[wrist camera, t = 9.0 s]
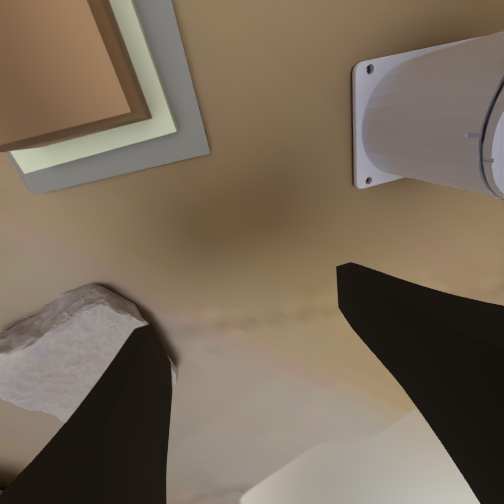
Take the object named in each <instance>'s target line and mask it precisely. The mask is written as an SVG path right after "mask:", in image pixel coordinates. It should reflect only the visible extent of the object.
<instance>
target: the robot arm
mask: <svg viewBox="0 0 504 504" xmlns="http://www.w3.org/2000/svg"><path fill="white" fill-rule="evenodd" d="M367 66H369V67H370V73H369V74H368V73H367V71H366V69H367ZM352 83H353V153H354V186H355V187H356V188H359V189H364V188H367V187H371V186H375V185H379V184H382V183H386V182H390V181H394V180H397V179H401V178H405V177H407V178H411V179H416V180H420V181H424V182H429V183H433V184H437V185H442V186H446V187H450V188H455V189H459V190H463V191H467V192H472V193H476V194H480V195H485V196H489V197H493V198H498V199H502V200H504V30H503V31H500V32H497V33H494V34H490V35H487V36H481V37H476V38H471V39H466V40H462V41H457V42H452V43H447V44H443V45H438V46H433V47H428V48H424V49H419V50H414V51H409V52H405V53H400V54H395V55H390V56H386V57H381V58H376V59H371V60H367V61H362V62H359V63H357V64H356V65H355V66H354V68H353V73H352ZM368 177H369V181H368V182H367V183H366V179H367V178H368ZM336 271H337V289H338V306H339V309H340V310H341V312H342V314H343V315H344V317H345V318H346V320H347V321H348V323H349V324H350V326H351V327H352V329H353V330H354V331H355V332H356V333H357V335H358V336H359V337H360V338H361V339H362V340H363V342H364V343H365V344H366V345H367V346H368V347H369V349H370V350H371V351H372V352H373V353H374V354H375V355H376V357H377V358H378V359H379V360H380V361H381V362H382V363H383V365H384V366H385V367H386V368H387V369H388V370H389V372H390V373H391V374H392V375H393V376H394V377H395V379H396V380H397V381H398V382H399V384H400V385H401V386H402V387H403V389H404V390H405V391H406V393H407V394H408V396H409V397H410V398H411V400H412V401H413V403H414V404H415V405H416V407H417V408H418V409H419V411H420V412H421V414H422V415H423V416H424V418H425V420H426V421H427V422H428V424H429V425H430V427H431V428H432V430H433V431H434V433H435V434H436V436H437V437H438V438H439V440H440V441H441V443H442V444H443V446H444V447H445V449H446V450H447V452H448V453H449V455H450V457H451V458H452V460H453V461H454V463H455V464H456V466H457V467H458V469H459V470H460V472H461V473H462V474H463V476H464V478H465V480H466V481H467V483H468V484H469V486H470V488H471V489H472V491H473V492H474V494H475V496H476V497H477V499H478V500H479V502H480V504H504V306H502V305H497V304H492V303H487V302H482V301H478V300H473V299H469V298H465V297H460V296H456V295H452V294H448V293H445V292H441V291H438V290H434V289H431V288H427V287H424V286H421V285H417V284H414V283H411V282H408V281H405V280H402V279H399V278H396V277H393V276H390V275H387V274H385V273H382V272H379V271H376V270H373V269H370V268H367V267H365V266H362V265H358V264H355V263H352V262H350V263H346V264H343V265H340V266H337V267H336ZM171 401H172V372H171V361H170V359H169V357H168V355H167V353H166V351H165V349H164V347H163V345H162V343H161V341H160V339H159V337H158V335H157V333H156V331H155V329H154V327H153V325H152V323H151V324H148V325H145V326H141V327H138V328H135V329H134V330H133V331H132V333H131V334H130V336H129V337H128V338H127V340H126V341H125V343H124V344H123V346H122V347H121V349H120V350H119V352H118V353H117V354H116V356H115V357H114V359H113V360H112V362H111V363H110V365H109V366H108V367H107V369H106V370H105V372H104V373H103V374H102V376H101V377H100V379H99V380H98V381H97V383H96V384H95V385H94V387H93V388H92V389H91V391H90V392H89V393H88V395H87V396H86V397H85V399H84V400H83V401H82V402H81V404H80V405H79V406H78V408H77V409H76V410H75V412H74V413H73V414H72V415H71V417H70V418H69V419H68V420H67V422H66V423H65V424H64V425H63V426H62V428H61V429H60V430H59V431H58V432H57V433H56V435H55V436H54V437H53V438H52V439H51V440H50V442H49V443H48V444H47V445H46V446H45V447H44V448H43V450H42V451H41V452H40V453H39V454H38V455H37V456H36V457H35V459H34V460H33V461H32V462H31V463H30V464H29V465H28V466H27V467H26V468H25V469H24V470H23V471H22V472H21V473H20V474H19V475H18V477H17V478H16V479H15V480H14V481H13V482H12V483H11V484H10V485H9V486H8V487H7V488H6V489H5V490H4V491H3V492H2V493H1V494H0V504H166V468H167V452H168V439H169V427H170V414H171Z"/></svg>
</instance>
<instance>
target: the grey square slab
mask: <svg viewBox="0 0 504 504" xmlns="http://www.w3.org/2000/svg"><path fill="white" fill-rule="evenodd" d="M134 3H135V6H136V9H137V12H138V15H139V17H140V20H141V23H142V26H143V29H144V32H145V35H146V38H147V41H148V44H149V47H150V50H151V52H152V55H153V58H154V61H155V64H156V67H157V70H158V73H159V76H160V79H161V82H162V84H163V87H164V90H165V93H166V96H167V99H168V102H169V105H170V108H171V111H172V114H173V116H174V119H175V122H176V125H177V128H178V131H177V132H174V133H170V134H166V135H163V136H159V137H156V138H152V139H148V140H145V141H141V142H138V143H134V144H130V145H127V146H123V147H120V148H116V149H112V150H109V151H105V152H102V153H98V154H94V155H91V156H87V157H84V158H80V159H76V160H73V161H69V162H66V163H62V164H58V165H55V166H51V167H48V168H44V169H40V170H37V171H33V172H30V173H26V174H24V172H23V171H22V169H21V168H20V166H19V165H18V163H17V162H16V160H15V158H14V157H13V155H12V154H11V152H10V151H7V152H6V153H7V154H8V156H9V158H10V159H11V161H12V163H13V164H14V166H15V168H16V169H17V171H18V173H19V174H20V176H21V178H22V179H23V181H24V183H25V184H26V186H27V188H28V189H29V191H30V193H31V194H32V195H37V194H41V193H45V192H49V191H54V190H58V189H62V188H66V187H71V186H75V185H79V184H83V183H88V182H92V181H96V180H100V179H105V178H109V177H113V176H117V175H122V174H126V173H130V172H134V171H139V170H143V169H147V168H151V167H156V166H160V165H164V164H168V163H173V162H177V161H181V160H185V159H190V158H194V157H198V156H202V155H207V154H210V150H209V146H208V142H207V138H206V134H205V130H204V126H203V122H202V119H201V115H200V111H199V107H198V103H197V99H196V95H195V91H194V87H193V83H192V79H191V75H190V72H189V68H188V64H187V60H186V56H185V52H184V48H183V44H182V40H181V36H180V32H179V28H178V25H177V21H176V17H175V13H174V9H173V5H172V1H171V0H134Z"/></svg>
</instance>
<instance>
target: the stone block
mask: <svg viewBox="0 0 504 504" xmlns="http://www.w3.org/2000/svg"><path fill="white" fill-rule="evenodd" d="M145 325H148V322H147V321H145V320H144V319H143V318H142V317H141V315H140V313H139V311H138V309H137V307H136V305H135V304H134V303H133V302H130V301H128V300H126V299H124V298H123V297H121V296H119V295H118V294H116V293H114V292H112V291H110V290H108V289H107V288H104V287H102V286H99V285H97V284H89V285H85V286H83V287H81V288H78V289H75V290H71V291H67V292H65V293H63V294H60V295H59V296H58V297H57V298H56V299H55V300H54V301H52V302H51V303H50V304H48V305H46V306H45V307H44V309H43V310H42V311H41V312H39V313H37V314H36V315H34V316H31V317H29V318H27V319H25V320H23V321H21V322H20V323H18V324H16V325H14V326H13V327H11V328H10V329H8V330H7V331H5V332H4V333H3V334H2V336H1V337H0V397H1V398H3V399H4V400H5V401H8V402H11V403H14V404H15V405H17V406H20V407H22V408H24V409H26V410H31V411H41V412H47V413H50V414H53V415H54V416H56V417H57V418H58V419H59V420H60V421H62V422H64V423H66V422H67V420H68V419H69V418H70V417H71V415H72V414H73V413H74V412H75V410H76V409H77V408H78V406H79V405H80V404H81V402H82V401H83V400H84V399H85V397H86V396H87V395H88V393H89V392H90V391H91V389H92V388H93V387H94V385H95V384H96V383H97V381H98V380H99V379H100V377H101V376H102V374H103V373H104V372H105V370H106V369H107V367H108V366H109V365H110V363H111V362H112V360H113V359H114V357H115V356H116V354H117V353H118V352H119V350H120V349H121V347H122V346H123V344H124V343H125V341H126V340H127V338H128V337H129V336H130V334H131V333H132V331H133V330H134V329H135V328H138V327H141V326H145ZM169 359H170V358H169ZM170 361H171V359H170ZM171 372H172V387H174V386H175V385H176V383H177V378H178V370H177V368H176V367H175V365H174V364H173V362H172V361H171Z"/></svg>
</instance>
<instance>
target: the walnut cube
mask: <svg viewBox="0 0 504 504" xmlns="http://www.w3.org/2000/svg"><path fill="white" fill-rule="evenodd" d="M148 119H152V116H151V113H150V110H149V107H148V105H147V102H146V99H145V96H144V94H143V91H142V88H141V86H140V83H139V80H138V77H137V75H136V72H135V69H134V67H133V64H132V61H131V58H130V56H129V53H128V50H127V47H126V45H125V42H124V39H123V37H122V34H121V31H120V28H119V26H118V23H117V20H116V17H115V15H114V12H113V9H112V7H111V4H110V1H109V0H0V152H7V151H15V150H23V149H31V148H40V147H43V146H47V145H51V144H55V143H59V142H63V141H67V140H71V139H75V138H78V137H82V136H86V135H90V134H94V133H98V132H102V131H106V130H109V129H113V128H117V127H121V126H125V125H129V124H133V123H137V122H141V121H144V120H148Z"/></svg>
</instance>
